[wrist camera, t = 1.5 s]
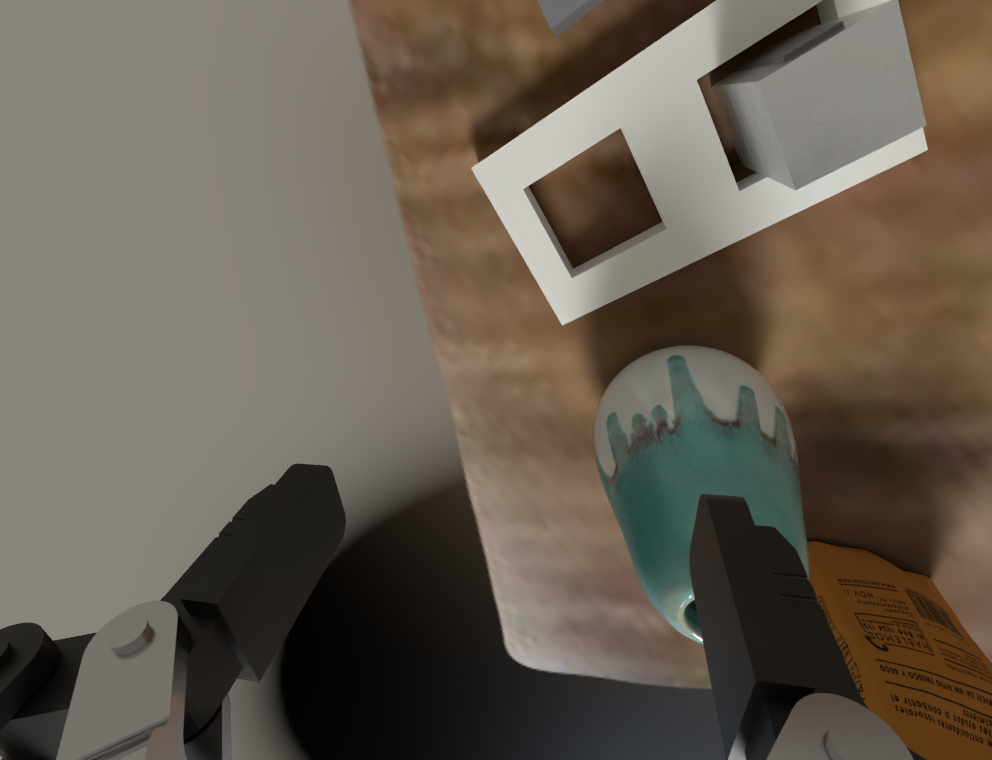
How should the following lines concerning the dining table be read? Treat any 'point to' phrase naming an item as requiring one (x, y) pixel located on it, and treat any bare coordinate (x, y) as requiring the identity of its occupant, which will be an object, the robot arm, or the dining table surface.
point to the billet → (823, 97)
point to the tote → (566, 12)
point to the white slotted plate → (663, 159)
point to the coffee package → (906, 653)
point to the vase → (692, 462)
